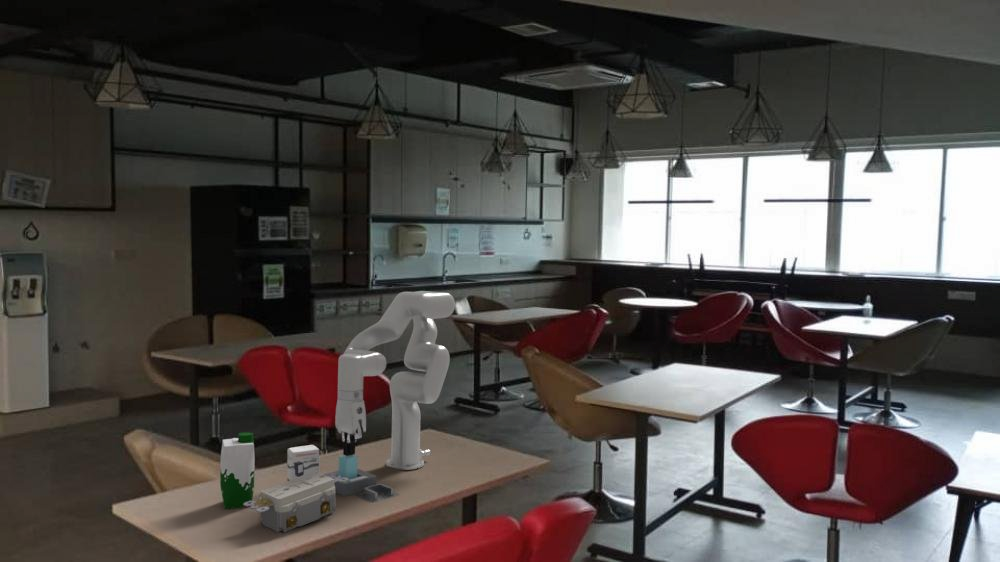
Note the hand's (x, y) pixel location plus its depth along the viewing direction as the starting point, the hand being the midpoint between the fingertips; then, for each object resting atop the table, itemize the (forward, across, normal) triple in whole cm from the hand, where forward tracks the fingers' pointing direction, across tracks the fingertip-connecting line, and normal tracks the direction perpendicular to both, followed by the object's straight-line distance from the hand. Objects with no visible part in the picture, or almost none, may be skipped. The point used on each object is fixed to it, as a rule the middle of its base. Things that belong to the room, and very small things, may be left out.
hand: (349, 454), depth 231 cm
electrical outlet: (+11, -12, +25) cm, 30 cm away
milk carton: (+11, +10, +31) cm, 34 cm away
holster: (+10, -12, -2) cm, 16 cm away
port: (+10, 0, 0) cm, 11 cm away
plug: (+10, 0, 0) cm, 11 cm away
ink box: (+11, +11, +9) cm, 18 cm away
